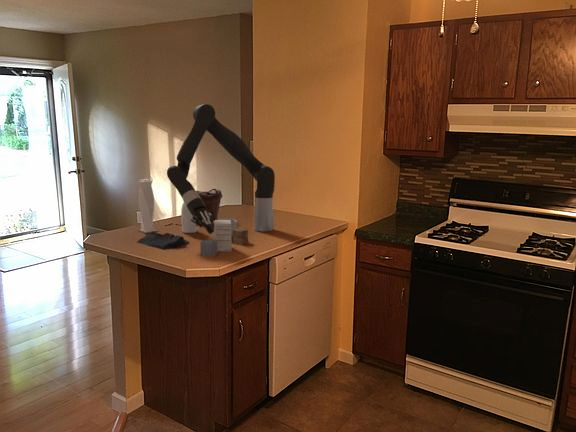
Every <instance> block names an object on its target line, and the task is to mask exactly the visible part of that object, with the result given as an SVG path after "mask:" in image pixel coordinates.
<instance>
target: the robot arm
mask: <svg viewBox="0 0 576 432" xmlns="http://www.w3.org/2000/svg"><path fill="white" fill-rule="evenodd" d="M192 117H193V120H194V124H193V125H192V128H191V129H190V132H189V133H188V134H187V136H186V138H185V139H184V141H183V143H182V144H181V147H180V148H179V150H178V153H177V155H176V161H177V165H169V167H168V168H167V170H166V176H167V178H168V180H169V181H170V182H171V184H172V185H173V187H174V188H175V189H176V190H177V191H178V194H179V196H180V197H181V199H182V201H183V203H185V205H186V206H187V208H188V210H189V211H190V213H191V214H192V216H193V217H192V219H191V221H192V222H194V223H195V224H197V227H198V226H199V227H200V228H205V230H206V231H207V233H209V234H210V235H211V234H213V233H214V229H213V228H214V227H213V225H212V224H214V223H213V221H214V213H212V214H211V213H209V212H208V210H206V208H205V204H204V203H203V201H202V199H201V198H200V196H199V194H198V193H197V192H196V191H197V190H196V189H195V188H194V186H193V184H192V183H191V181H189V180H188V179H187V178H188V176H189V172H190V169H191V163H192V161H193V158H194V156H195V154H196V152H197V149H198V147H199V145H200V143H201V141H202V139H203V137H204V135H205V133H206V131H207V132H208V133H209V134H210V135H211V136H212V137H213V138H214V140H216V141H217V142H218V144H220V146H221V147H222V148H223V149H224V150H225V151H226V152H227V153H228V154H229V155H230V156H232V158H233V159H234V160H235V161H237V162H239V163H240V164H241V165H242V166H243V167H244V168H245V169H246V170H247V171H248V173H250V175H251V176H252V178H253V179H254V180H255V181H256V190H255V192H254V231H257V232H271V231H273V230H274V228H275V227H274V225H275V223H274V222H275V220H274V219H275V216H274V215H275V211H274V210H273V208H274V207H273V205H274V202H273V199H274V192H275V184H276V183H275V181H276V176H275V175H276V174H275V171H274V169H273V168H272V167H270V166H268V165H266V164H264V163H262V162H261V161H260V160H259V159H258V158H257V157H256V156H255V155H254V154H253V152H252V151H251V149H250V148H249V146H248V145H247V143H246V142H245V141H244V140H243V139H242V138H241V137H240V136H239V135H238V134H236V133H235V132H234V131H233V130H232V129H230V128H228V127H226V126H225V125H223V124H222V123H221V122H220V121H219V120H218V119H217V118H216V111H215V108H214V107H213V105H211V104H209V103H203V104H200V105H198V106H195V107H194V109H193V111H192Z"/></svg>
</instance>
